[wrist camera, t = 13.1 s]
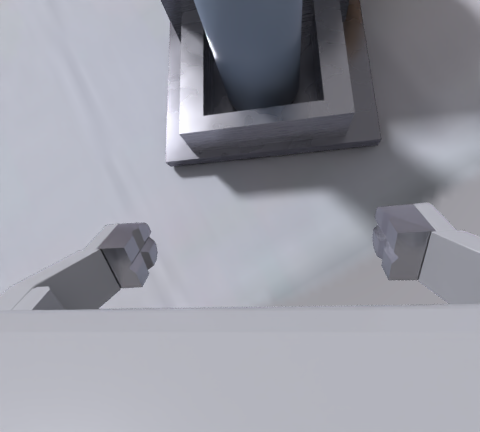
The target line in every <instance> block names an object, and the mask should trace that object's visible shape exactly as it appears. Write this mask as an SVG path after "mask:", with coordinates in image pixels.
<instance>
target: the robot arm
mask: <svg viewBox="0 0 480 432" xmlns="http://www.w3.org/2000/svg"><path fill="white" fill-rule="evenodd" d="M375 220H376V221H377V223H378V225H377V226H376V227H375V228H374V229H373V237H372V238H373V247H374V250H375V253H376V255H377V256H378V257H379V258H381V259H382V268H383V270H384V272H385V274H386V276H387V278H388V280H418V281H419V282H420V283H421V284H423V285H424V286H425V287H427V288H428V289H429V290H431V291H432V292H433V293H435V294H436V295H438V296H439V297H440V298H442V299H443V300H444V301H446V302H447V303H448V304H430V305H359V306H358V305H356V306H285V307H218V308H147V309H98V308H100V307H101V306H102V305H103V304H104V303H105V302H107V301H108V300H109V299H110V298H111V297H112V296H114V295H115V294H116V293H117V292H118V291H119V290H120V288H134V287H143V285H144V283H145V281H146V279H147V277H148V275H149V272H148V269H149V268H151V267H152V266H154V264H155V262H156V260H157V253H158V252H157V246H156V243H155V241H154V240H152V239H151V238H150V237H149V236H150V234H151V230H150V228H149V226H148V224H146V223H123V224H109V225H105V226H104V227H103V229H102V230H101V231H100V232H99V233H98V234H97V235H96V236H95V237H94V238H93V240H92V241H91V242H90V243H89V244H88V245H87V246H86V247H85V248H84V249H83V250H79V251H77V252H75V253H73V254H71V255H69V256H67V257H65V258H63V259H62V260H60V261H58V262H56V263H54V264H52V265H50V266H48V267H46V268H44V269H43V270H41V271H39V272H37V273H35V274H33V275H31V276H29V277H27V278H25V279H24V280H22V281H20V282H18V283H16V284H14V285H12V286H10V287H9V288H8V289H7V290H6V291H5V292H4V293H3V294H2V295H0V432H480V236H478V235H475V234H472V233H470V232H467V231H464V230H456V228H455V227H454V226H453V225H452V224H451V223H450V222H449V221H448V220H447V219H446V218H445V217H444V216H443V215H442V214H441V213H440V212H439V211H438V210H437V209H436V208H435V207H434V206H433V205H432V204H431V203H428V202H425V203H416V204H406V205H395V206H384V207H377V209H376V213H375Z"/></svg>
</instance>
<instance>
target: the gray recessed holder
mask: <svg viewBox="0 0 480 432" xmlns="http://www.w3.org/2000/svg"><path fill="white" fill-rule="evenodd" d="M161 2H162V4H163V6H164V8H165V10H166V13H167V15H168V17H169V19H170V42H169V73H168V104H167V134H166V163H167V164H168V165H169V166H180V165H190V164H199V163H209V162H219V161H228V160H238V159H248V158H257V157H267V156H277V155H286V154H296V153H306V152H315V151H325V150H335V149H344V148H354V147H364V146H373V145H378V143H379V142H380V140H381V134H380V128H379V121H378V115H377V109H376V102H375V96H374V90H373V83H372V77H371V71H370V64H369V58H368V52H367V46H366V39H365V33H364V27H363V20H362V14H361V8H360V1H359V0H303V1H302V27H301V53H300V79H299V89H298V92H297V95H296V97H295V99H294V100H293V101H292V103H291V104H290V105H282V106H275V107H267V108H259V109H252V110H244V111H237V110H236V109H235V108H234V107H233V106H232V104H231V103H230V101H229V98H228V96H227V93H226V90H225V87H224V84H223V81H222V79H221V76H220V73H219V70H218V67H217V65H216V62H215V59H214V56H213V53H212V50H211V48H210V45H209V42H208V39H207V36H206V34H205V31H204V28H203V25H202V22H201V19H200V17H199V14H198V11H197V8H196V5H195V3H194V0H161Z"/></svg>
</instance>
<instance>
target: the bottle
mask: <svg viewBox="0 0 480 432" xmlns="http://www.w3.org/2000/svg"><path fill="white" fill-rule="evenodd" d="M302 1H303V0H194V3H195V5H196V8H197V11H198V14H199V17H200V19H201V22H202V25H203V28H204V31H205V34H206V36H207V39H208V42H209V45H210V48H211V50H212V53H213V56H214V59H215V62H216V65H217V67H218V70H219V73H220V76H221V79H222V81H223V84H224V87H225V90H226V93H227V96H228V98H229V101H230V103H231V104H232V106H233V107H234V108H235V109H236V110H237V111H244V110H252V109H259V108H267V107H275V106H282V105H290V104H291V103H292V101H293V100H294V99H295V97H296V95H297V92H298V89H299V79H300V53H301V27H302Z"/></svg>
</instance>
